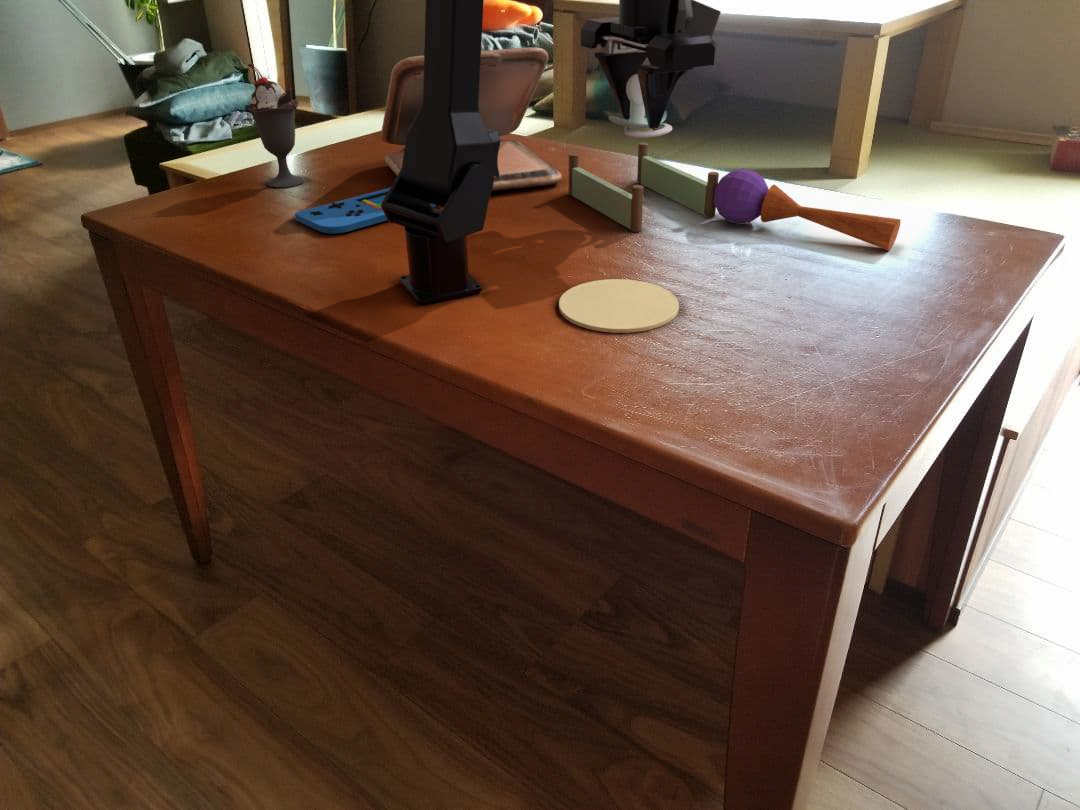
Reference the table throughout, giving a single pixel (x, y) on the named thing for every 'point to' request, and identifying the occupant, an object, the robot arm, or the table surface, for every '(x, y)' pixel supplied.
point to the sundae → (275, 125)
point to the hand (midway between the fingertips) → (640, 123)
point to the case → (500, 107)
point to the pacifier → (639, 114)
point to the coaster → (618, 305)
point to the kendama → (794, 209)
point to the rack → (650, 175)
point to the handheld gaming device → (346, 213)
